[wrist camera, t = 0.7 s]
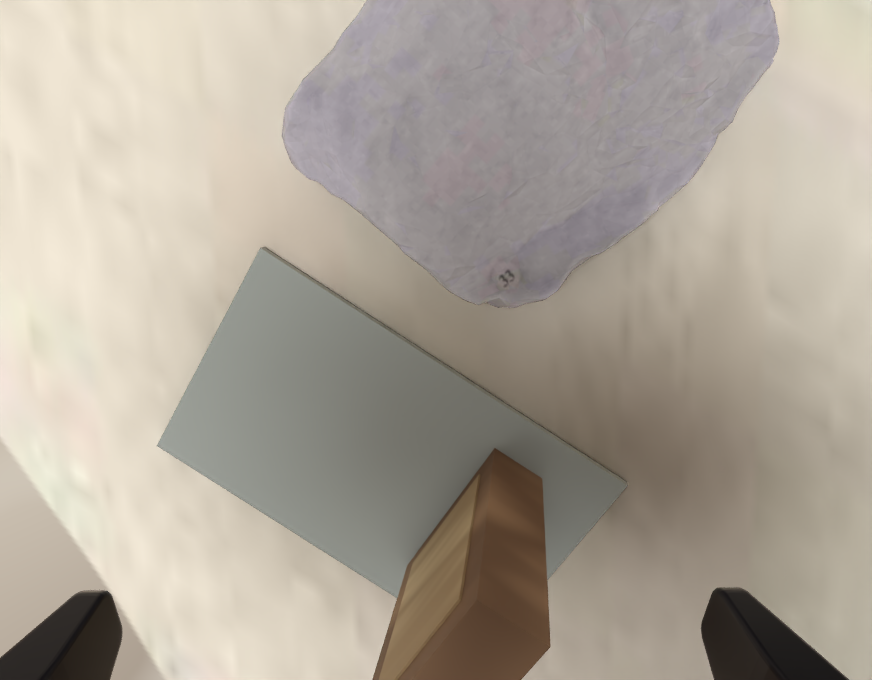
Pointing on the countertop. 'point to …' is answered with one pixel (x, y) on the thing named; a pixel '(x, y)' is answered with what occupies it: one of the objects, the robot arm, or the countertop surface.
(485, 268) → the stone block
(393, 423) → the rubber mat
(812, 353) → the countertop surface
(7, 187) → the countertop surface
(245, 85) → the countertop surface
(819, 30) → the countertop surface
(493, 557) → the walnut tile
